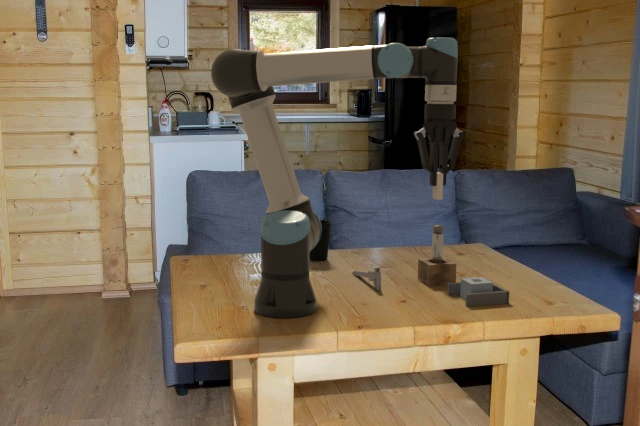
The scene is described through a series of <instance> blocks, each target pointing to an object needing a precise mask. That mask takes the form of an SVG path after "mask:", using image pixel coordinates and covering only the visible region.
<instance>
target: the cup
mask: <svg viewBox="0 0 640 426" xmlns="http://www.w3.org/2000/svg"><path fill="white" fill-rule="evenodd" d="M320 222H321V227H322V231H321V237H320V240H319V242H318V244H317V245H316V246H315V248H314V249H312V250H311V251H310V252H309V261H310V260H311V262H314V261H316V262H319V263H320V262H321V261H323V262H326V261H325V260H328V255H329V254H328V253H329V248H330V247H329V246H330V244H329V243H330V235H331V226H332V222H331V221H329V220H324V219H320Z"/></svg>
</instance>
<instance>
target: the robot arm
mask: <svg viewBox="0 0 640 426" xmlns="http://www.w3.org/2000/svg"><path fill="white" fill-rule="evenodd" d="M458 46H459V44H458V41H457V40H456V39H455V38H454V37H429V38H427V39H426V43H425V45H422V46H408V45H405V44H404V43H401V42H390V43H388V44H387V43H386V44H377V45H363V46H349V47H337V48H336V47H335V48H322V49H311V50H297V51H286V52H272V53H266V52H265V51H263V50H262V49H253V50H249V49H248V50H247V49H240V48H231V49H227V50H224V51H222V52H221V53H220V54H218V55H217V56H216V57H215V59H214V60H213V62H212V65H211V70H210V76H211V80H212V83H213V85H214V87H215V89H216V90H218V91H219V92H220V93H221V94H222V95H224V96H225V97H227V98H228V102H229V103H230V107H231V109H232V111H233V112H235V113H237V114H239V115H240V119H241V121H242V125H243V127H244V130H245V134H246V136H247V140H248V142H249V145H250V149H251V152H252V155H253V157H254V161H255V164H256V167H257V169H258V173H259V176H260V179H261V182H262V185H263V188H264V190H265V195H266V197H267V200H268V203H269V205H268V206H267V208H266V211H265V213H266V215H264V217H262V220H261V224H260V230H259V231H260V246H261V247H260V252H261V253H260V257H261V258H260V259H261V261H260V262H261V266H260V267H261V270H260V271H261V277H260V278H261V279H260V282H259V285H258V288H257V292H256V295H255V297H254V306H253V307H254V311H255V313H257V314H259V315H262V316H266V317H268V318H269V317H271V318H280V319H288V318H290V319H291V318H299V317H305V316H308V315H312V314H313V313H315V312H316V311H317V297H316V295H315V291H314V289H313V285H312V282H311V279H310V259H309V252H310V251H311V250H312V249H314V248H315V246H316V245H317V244H318V242H319V240H320V237H321V231H322V227H321V222H320V220H321V219H320V217H319V216H318V214H317V213H316V212H315V211H314V210H313V207H312V206H313V205H312V204H311V200H310V197H308V196H306V195H304V194H303V193H302V191H301V188H300V185H299V183H298V179H297V176H296V174H295V173H296V172H295V170H294V168H293V167H294V166H293V164H292V160H291V157H290V154H289V152H288V149H287V146H286V142H285V139H284V137H283V133H282V131H281V127H280V124H279V122H278V117H277V115H276V112H275V108H274V106H273V104H274V101H275V99H276V95H277V94H276V92H275V89H274V87H282V86H292V85H305V84H306V85H308V84H319V83H320V84H321V83H337V82H347V81H348V82H349V81H360V80H361V81H363V80H374V79H375V80H376V79H377V80H380V79H391V80H392V79H409V78H410V79H412V78H413V79H417V78H418V79H422V78H423V79H424V80H425V86H424V91H425V93H424V101H425V102H427V103H425V104H424V122H423V123H422V128H420V129H419V130H418V131H414V132H413V136H414V138H415V139H416V142H417V146H418V151H419V156H420V162H421V166H422V170H424V171H427V172H428V173H429V185H430V186H432V196H431V197H432V199H433V200H435V201H442V200H443V195H444V186H447V174H449V172H450V171H453V170H455V167H456V163H457V160H458V154H459V151H460V147H461V143H462V140H463V138H465V135H466V133H465V131H462V130H460V129H459V128H458V127H457V126H458V125H457V123H456V116H457V115H456V114H457V106H456V104H455V102H457V86H458V85H457V83H458V82H457V81H458V78H457V77H458V60H459V59H458V58H459V57H458V56H459V55H458V54H459V53H458ZM452 136H453V138H452V139H451V145H450V138H451V137H452ZM426 137H428V140H429V151H428V147H427V141H426ZM449 146H450V148H449Z"/></svg>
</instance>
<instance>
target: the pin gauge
mask: <svg viewBox="0 0 640 426" xmlns="http://www.w3.org/2000/svg"><path fill="white" fill-rule="evenodd" d="M444 233H445V226H444V225H441V224H433V225H432V241H431V242H432V243H431V244H432V245H431V258H432V263H443V257H444Z"/></svg>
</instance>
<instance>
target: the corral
mask: <svg viewBox="0 0 640 426" xmlns="http://www.w3.org/2000/svg"><path fill="white" fill-rule="evenodd" d="M446 286H447V289H446V294H447V295H448V296H452V295H454V296H455V295H460V290H461V281H459V282H457V281H456V283H447V285H446ZM509 303H510V291H509V290H508V289H505V288H504V287H501V286H500V285H498V284H495V283H494V282H493V292H485V293H471V294H466V300H465V307H474V306H475V307H476V306H489V305H500V304H502V305H503V304H504V305H505V304H509Z"/></svg>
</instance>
